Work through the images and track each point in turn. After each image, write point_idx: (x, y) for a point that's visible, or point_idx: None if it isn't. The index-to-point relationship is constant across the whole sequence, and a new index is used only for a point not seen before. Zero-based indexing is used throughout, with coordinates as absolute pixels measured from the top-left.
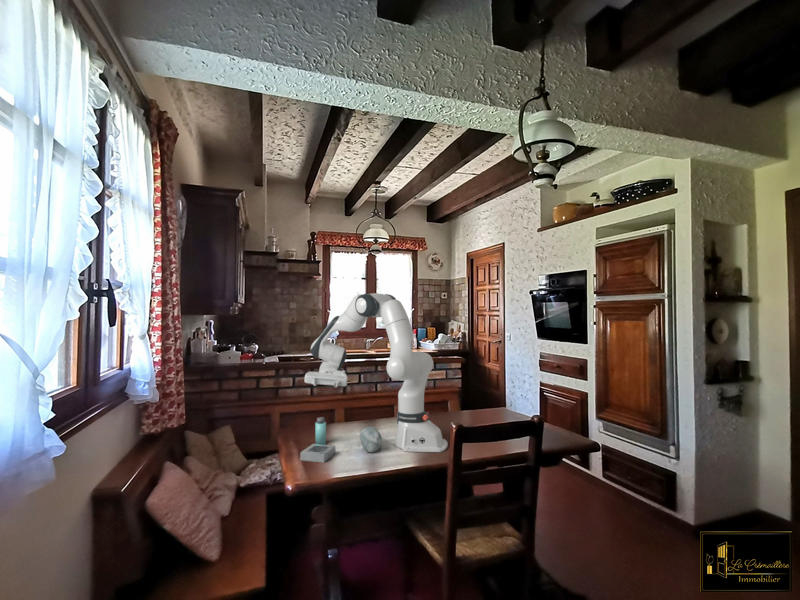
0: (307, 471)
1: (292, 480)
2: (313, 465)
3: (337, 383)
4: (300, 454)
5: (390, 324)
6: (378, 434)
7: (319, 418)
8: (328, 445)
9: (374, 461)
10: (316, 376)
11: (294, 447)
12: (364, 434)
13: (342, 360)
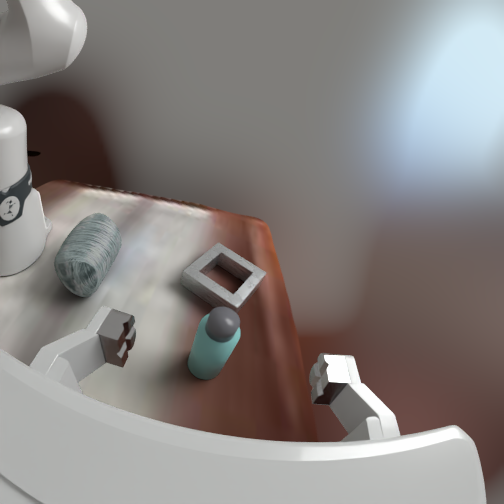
0: (246, 241)
1: (267, 229)
2: None
3: (85, 333)
4: (264, 276)
5: None
6: (86, 217)
7: (230, 316)
8: (199, 280)
9: (125, 220)
10: (374, 454)
11: (280, 364)
12: (113, 229)
13: None
